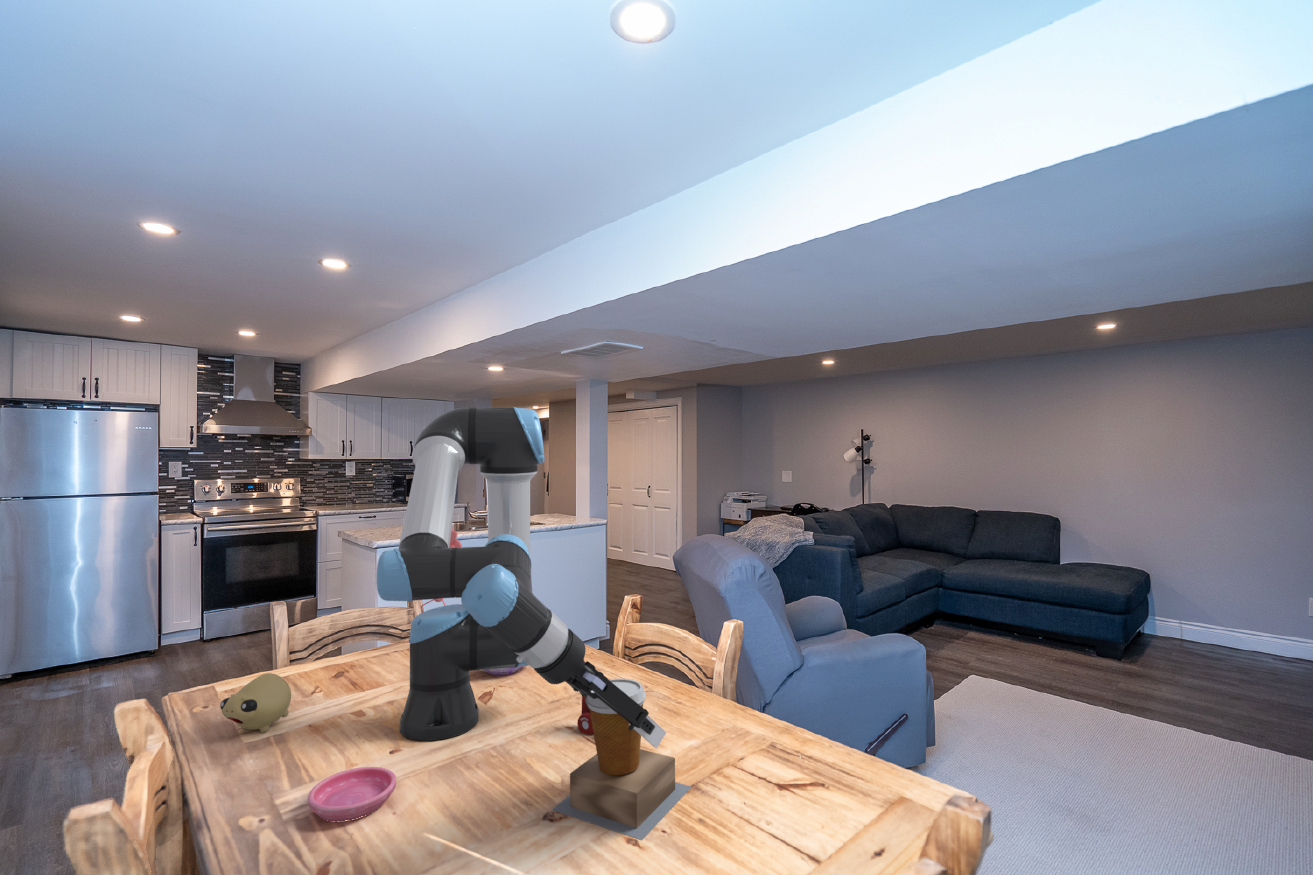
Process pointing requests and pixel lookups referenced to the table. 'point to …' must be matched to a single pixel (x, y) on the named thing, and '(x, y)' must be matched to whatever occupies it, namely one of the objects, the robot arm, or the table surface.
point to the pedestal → (623, 789)
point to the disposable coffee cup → (616, 732)
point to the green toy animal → (259, 703)
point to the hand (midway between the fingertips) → (637, 726)
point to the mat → (622, 828)
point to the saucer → (352, 793)
